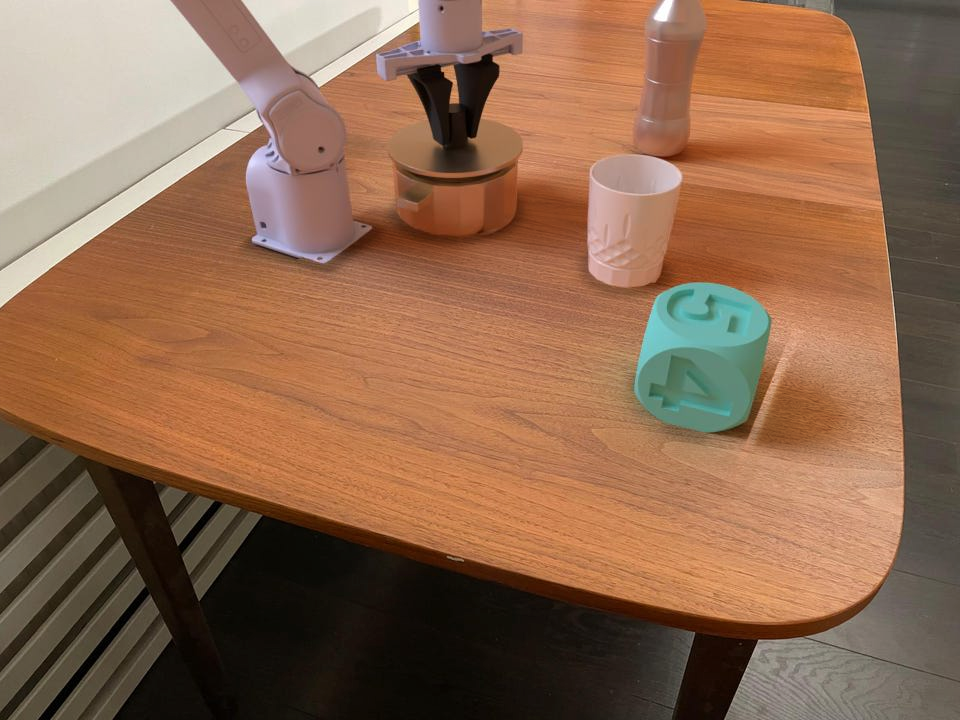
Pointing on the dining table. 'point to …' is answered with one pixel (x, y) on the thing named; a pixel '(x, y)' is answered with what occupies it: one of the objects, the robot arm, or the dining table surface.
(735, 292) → the decorative dice
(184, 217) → the dining table surface
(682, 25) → the plastic bottle
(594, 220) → the white cup
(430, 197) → the pot
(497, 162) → the lid
